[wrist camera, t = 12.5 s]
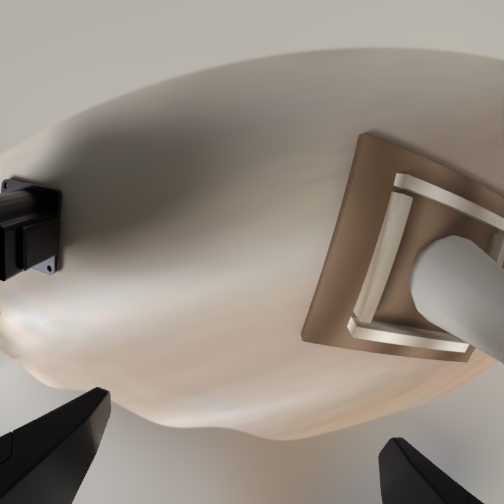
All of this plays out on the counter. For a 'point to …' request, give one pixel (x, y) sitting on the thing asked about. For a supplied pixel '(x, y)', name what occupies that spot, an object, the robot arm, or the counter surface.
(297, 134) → the counter surface
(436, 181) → the collar board
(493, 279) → the salt shaker
